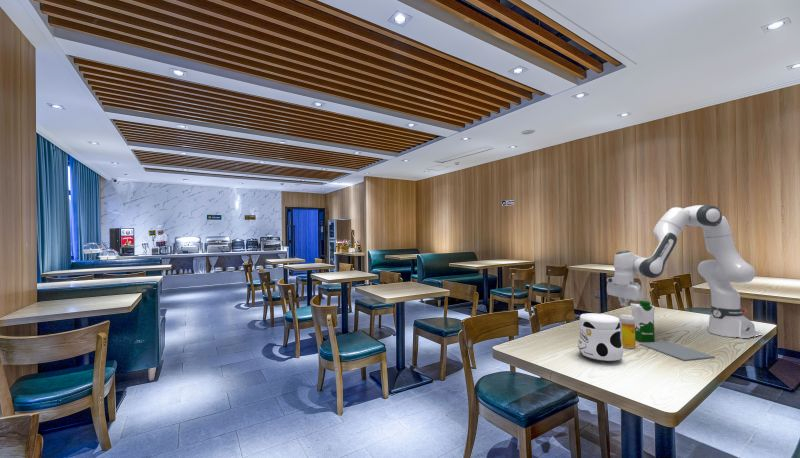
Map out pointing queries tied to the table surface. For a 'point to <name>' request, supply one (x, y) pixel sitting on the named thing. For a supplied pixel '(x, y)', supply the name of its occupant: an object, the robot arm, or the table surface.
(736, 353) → the table surface
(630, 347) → the beer can
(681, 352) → the mat
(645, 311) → the white carton
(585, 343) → the milk container
